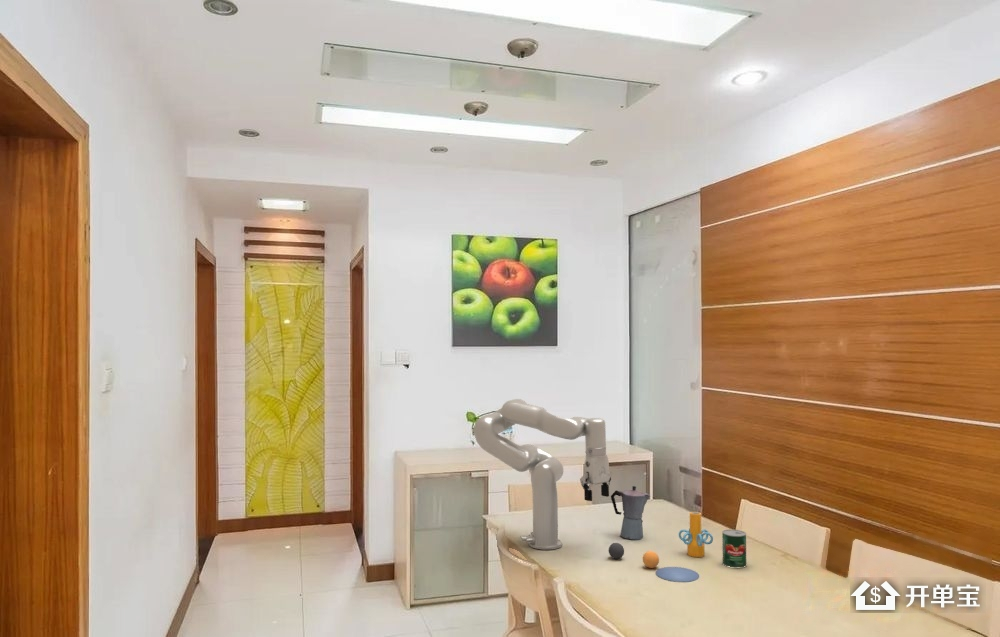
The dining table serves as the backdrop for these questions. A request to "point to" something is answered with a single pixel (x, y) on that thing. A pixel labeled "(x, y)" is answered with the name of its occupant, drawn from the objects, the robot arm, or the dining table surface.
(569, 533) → the dining table surface
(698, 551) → the cylinder
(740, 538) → the canned tomato
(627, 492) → the moka pot
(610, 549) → the dark grey ball
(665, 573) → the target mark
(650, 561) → the object ball
